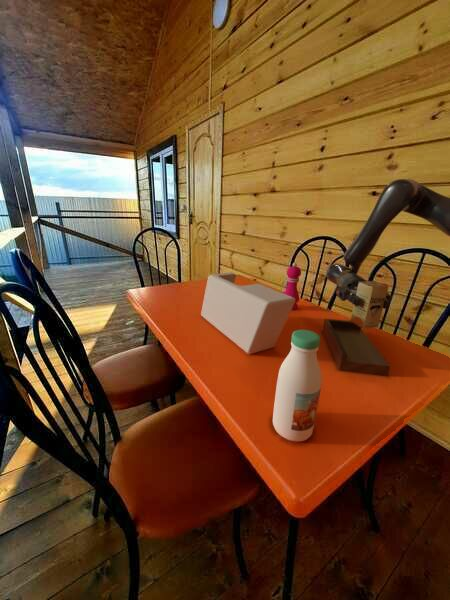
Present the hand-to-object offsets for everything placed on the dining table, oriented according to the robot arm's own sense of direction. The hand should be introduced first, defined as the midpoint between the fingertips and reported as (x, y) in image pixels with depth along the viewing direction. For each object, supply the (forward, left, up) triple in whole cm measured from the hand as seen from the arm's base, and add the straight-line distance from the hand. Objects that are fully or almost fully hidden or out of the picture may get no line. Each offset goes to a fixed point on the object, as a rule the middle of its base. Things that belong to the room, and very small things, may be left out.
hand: (372, 304), depth 67 cm
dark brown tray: (+1, -5, -17) cm, 18 cm away
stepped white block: (+36, -9, -17) cm, 41 cm away
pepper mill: (+17, -39, -17) cm, 46 cm away
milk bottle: (+21, +29, -17) cm, 40 cm away
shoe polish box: (0, -2, -7) cm, 8 cm away
